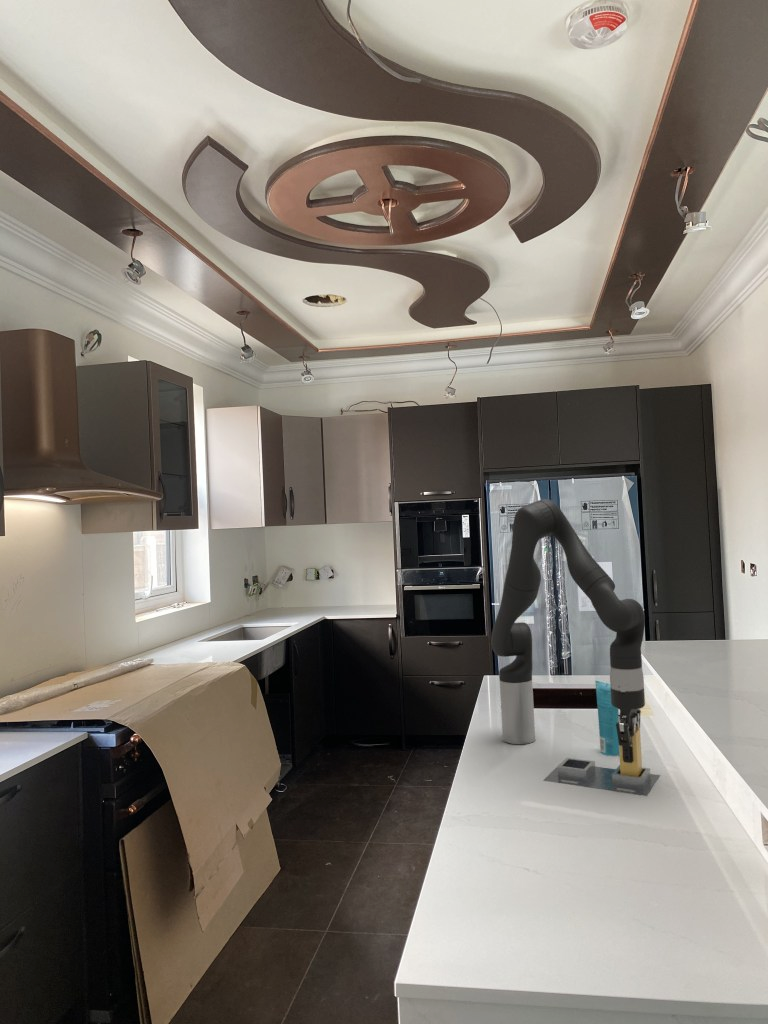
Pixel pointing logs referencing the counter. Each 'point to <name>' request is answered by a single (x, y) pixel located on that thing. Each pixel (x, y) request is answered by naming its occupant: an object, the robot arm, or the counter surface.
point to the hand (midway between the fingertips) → (630, 758)
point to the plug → (636, 765)
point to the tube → (607, 720)
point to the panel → (601, 777)
